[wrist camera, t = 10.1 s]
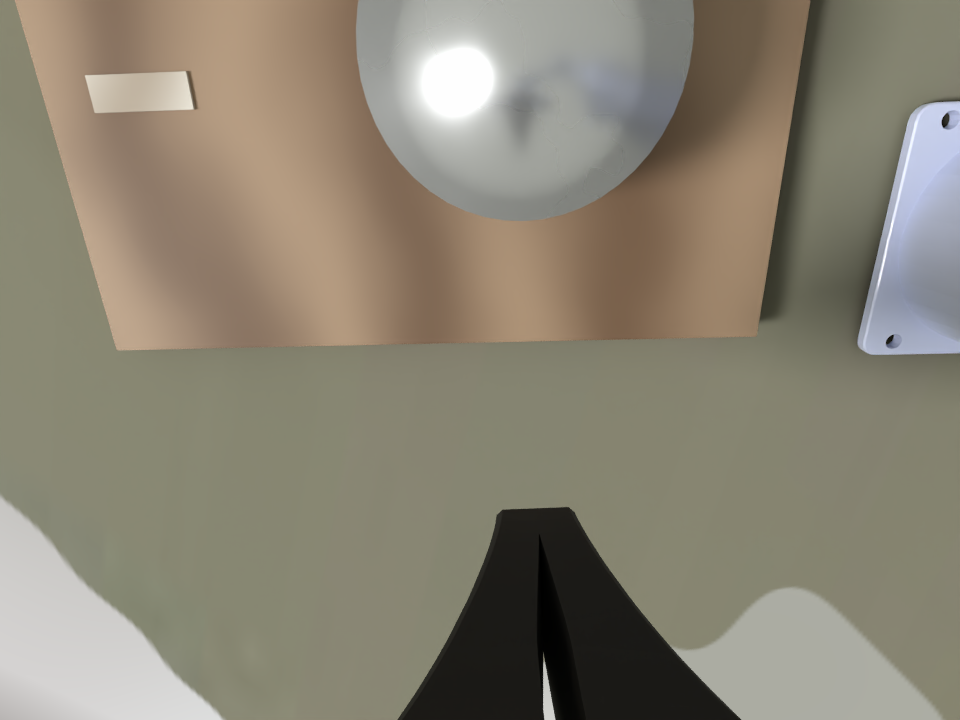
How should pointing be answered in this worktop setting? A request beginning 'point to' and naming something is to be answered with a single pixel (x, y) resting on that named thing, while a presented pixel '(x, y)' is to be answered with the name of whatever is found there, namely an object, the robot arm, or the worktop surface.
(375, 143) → the post board
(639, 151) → the grey lever with knob
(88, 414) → the worktop surface
